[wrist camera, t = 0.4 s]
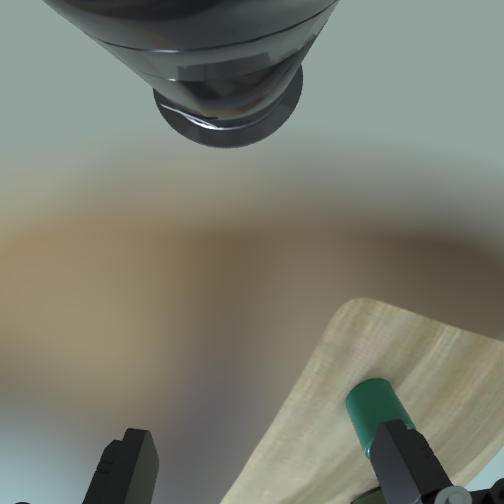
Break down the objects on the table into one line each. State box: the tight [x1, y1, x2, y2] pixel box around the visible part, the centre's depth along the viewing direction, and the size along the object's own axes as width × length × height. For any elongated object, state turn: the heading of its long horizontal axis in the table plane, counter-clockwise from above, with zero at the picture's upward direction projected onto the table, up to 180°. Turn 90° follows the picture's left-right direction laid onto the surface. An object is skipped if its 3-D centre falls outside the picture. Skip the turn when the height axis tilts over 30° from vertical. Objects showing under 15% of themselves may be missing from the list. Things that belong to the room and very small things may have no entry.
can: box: [346, 379, 416, 459], centre depth 25 cm, size 5×5×7 cm
